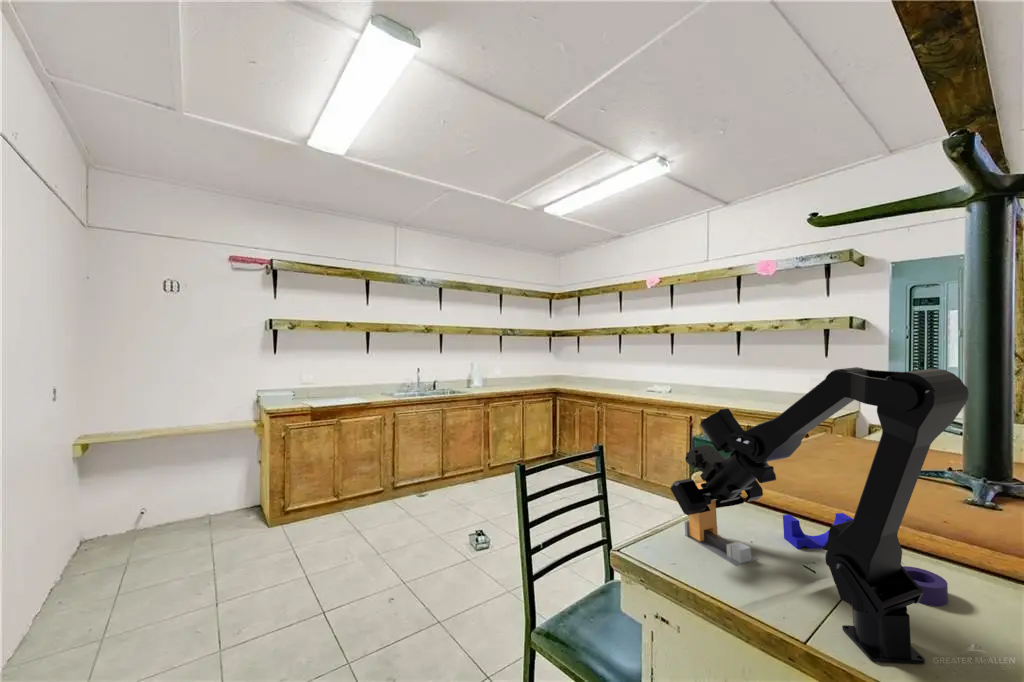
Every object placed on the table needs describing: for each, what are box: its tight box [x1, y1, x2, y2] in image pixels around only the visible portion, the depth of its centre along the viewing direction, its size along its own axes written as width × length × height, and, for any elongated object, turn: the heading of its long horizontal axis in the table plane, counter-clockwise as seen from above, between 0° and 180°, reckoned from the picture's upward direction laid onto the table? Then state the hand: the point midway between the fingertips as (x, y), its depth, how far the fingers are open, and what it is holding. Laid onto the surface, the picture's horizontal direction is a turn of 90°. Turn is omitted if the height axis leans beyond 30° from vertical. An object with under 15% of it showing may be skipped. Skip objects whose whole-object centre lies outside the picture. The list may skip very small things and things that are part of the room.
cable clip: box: [782, 512, 854, 550], centre depth 86 cm, size 12×4×6 cm, turn 87°
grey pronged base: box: [684, 519, 759, 567], centre depth 86 cm, size 14×5×4 cm, turn 19°
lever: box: [903, 565, 949, 607], centre depth 72 cm, size 12×6×3 cm, turn 47°
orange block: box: [688, 481, 719, 541], centre depth 90 cm, size 3×5×11 cm
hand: (697, 509), depth 92 cm, fingers closed on orange block, 4 cm apart
